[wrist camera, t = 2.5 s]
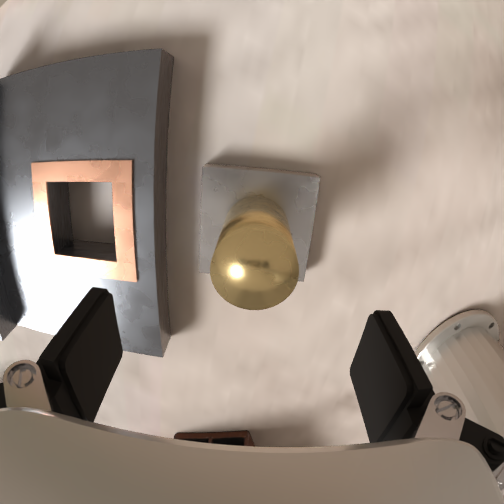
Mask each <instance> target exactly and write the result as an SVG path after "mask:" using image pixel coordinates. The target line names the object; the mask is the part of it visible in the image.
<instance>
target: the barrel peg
mask: <svg viewBox="0 0 504 504" xmlns="http://www.w3.org/2000/svg"><path fill="white" fill-rule="evenodd" d="M210 275H211V280H212V283H213V285H214V287H215V289H216V290H217V292H218V293H219V294H220V295H221V297H222V298H224V299H225V300H226V301H227V302H229V303H231V304H232V305H234V306H237V307H239V308H243V309H248V310H262V309H267V308H270V307H273V306H275V305H278V304H279V303H281V302H282V301H284V300H285V299H286V298H287V297H288V296H289V295H290V294H291V293H292V291H293V290H294V288H295V286H296V284H297V282H298V278H299V264H298V259H297V255H296V251H295V247H294V243H293V239H292V235H291V231H290V227H289V223H288V220H287V216H286V214H285V212H284V210H283V209H282V208H281V207H280V206H279V205H278V204H277V203H276V202H275V201H273V200H271V199H269V198H266V197H261V196H251V197H246V198H244V199H242V200H240V201H238V202H237V203H235V204H234V205H233V206H232V207H231V209H230V210H229V212H228V213H227V216H226V218H225V221H224V224H223V227H222V230H221V233H220V236H219V239H218V242H217V245H216V248H215V251H214V254H213V257H212V260H211V264H210Z"/></svg>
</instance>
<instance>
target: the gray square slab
mask: <svg viewBox="0 0 504 504" xmlns="http://www.w3.org/2000/svg"><path fill="white" fill-rule="evenodd" d="M319 184H320V177H319V176H318V175H317V174H312V173H304V172H296V171H287V170H278V169H268V168H257V167H246V166H234V165H220V164H205V165H204V166H203V170H202V190H201V214H200V248H199V272H202V273H210V264H211V260H212V257H213V254H214V251H215V248H216V245H217V242H218V239H219V236H220V233H221V230H222V227H223V224H224V221H225V218H226V216H227V213H228V212H229V210H230V209H231V207H232V206H233V205H234V204H235V203H237V202H238V201H240V200H242V199H244V198H246V197H251V196H261V197H266V198H269V199H271V200H273V201H275V202H276V203H277V204H278V205H279V206H280V207H281V208H282V209H283V210H284V212H285V214H286V216H287V220H288V223H289V227H290V231H291V235H292V239H293V243H294V247H295V251H296V255H297V259H298V264H299V278H298V281H303V282H304V277H305V271H306V266H307V260H308V254H309V248H310V243H311V236H312V230H313V224H314V218H315V211H316V205H317V198H318V191H319Z"/></svg>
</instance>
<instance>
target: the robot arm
mask: <svg viewBox="0 0 504 504" xmlns="http://www.w3.org/2000/svg"><path fill="white" fill-rule="evenodd" d="M499 334H500V331H499V325H498V323H497V321H496V320H495V318H494V317H493V316H492V315H491V314H490V313H488V312H487V311H483V310H470V311H466V312H463V313H460V314H458V315H455V316H454V317H452V318H450V319H448V320H447V321H445V322H444V323H442V324H441V325H440V326H438V327H437V328H436V329H435V330H434V331H433V332H431V333H430V334H429V335H428V336H427V338H426V339H425V340H424V341H423V342H422V343H421V345H420V346H419V347H418V349H417V350H416V352H414V351H413V349H412V347H411V345H410V343H409V342H408V340H407V338H406V336H405V335H404V333H403V331H402V329H401V328H400V326H399V324H398V323H397V321H396V319H395V317H394V316H393V314H392V313H391V311H381V310H376V311H375V312H374V313H373V314H370V315H369V317H368V320H367V323H366V326H365V329H364V332H363V335H362V337H361V340H360V343H359V346H358V348H357V351H356V354H355V357H354V359H353V362H352V364H351V367H350V376H351V379H352V383H353V386H354V389H355V393H356V396H357V399H358V403H359V406H360V409H361V413H362V416H363V420H364V423H365V427H366V430H367V434H368V437H369V441H370V443H364V444H352V445H340V446H322V447H253V446H235V445H222V444H211V443H202V442H194V441H186V440H179V439H172V438H165V437H159V436H153V435H148V434H143V433H138V432H133V431H128V430H123V429H119V428H115V427H110V426H106V425H102V424H98V423H94V419H95V417H96V415H97V412H98V410H99V407H100V405H101V403H102V400H103V398H104V396H105V393H106V391H107V389H108V387H109V384H110V382H111V380H112V378H113V375H114V373H115V371H116V369H117V367H118V364H119V362H120V360H121V358H122V353H123V349H122V344H121V339H120V334H119V329H118V323H117V318H116V312H115V306H114V300H113V295H112V294H111V293H109V291H108V289H105V288H98V287H92V288H91V289H90V290H89V291H88V293H87V294H86V295H85V296H84V298H83V299H82V300H81V301H80V303H79V304H78V305H77V307H76V308H75V309H74V310H73V312H72V313H71V314H70V316H69V317H68V318H67V320H66V321H65V322H64V324H63V325H62V326H61V328H60V329H59V330H58V332H57V333H56V334H55V336H54V337H53V339H52V340H51V341H50V343H49V344H48V346H47V347H46V348H45V350H44V351H43V353H42V354H41V356H40V357H39V360H38V361H37V362H36V363H35V362H32V361H30V360H21V361H17V362H15V363H13V364H11V365H10V366H9V367H8V368H7V369H6V370H5V373H4V375H3V383H0V504H504V349H503V348H502V346H501V345H500V344H499V342H498V341H499Z"/></svg>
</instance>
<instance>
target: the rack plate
mask: <svg viewBox="0 0 504 504" xmlns="http://www.w3.org/2000/svg"><path fill="white" fill-rule="evenodd" d="M173 60H174V57H173V56H172V55H170V54H169V53H167V52H166V51H164V50H163V49H149V50H138V51H128V52H119V53H111V54H104V55H97V56H91V57H85V58H80V59H74V60H69V61H64V62H60V63H55V64H51V65H47V66H43V67H39V68H35V69H31V70H27V71H24V72H20V73H17V74H14V75H10V76H7V77H4V78H1V79H0V340H2V341H3V340H4V339H5V338H6V337H7V335H8V334H9V333H10V332H11V331H12V330H13V329H14V328H15V327H16V325H21V326H24V327H27V328H31V329H34V330H38V331H41V332H45V333H49V334H52V335H55V334H56V333H57V332H58V330H59V329H60V328H61V326H62V325H63V324H64V322H65V321H66V320H67V318H68V317H69V316H70V314H71V313H72V312H73V310H74V309H75V308H76V307H77V305H78V304H79V303H80V301H81V300H82V299H83V298H84V296H85V295H86V294H87V293H88V291H89V290H90V289H91V288H92V287H98V288H105V289H108V291H109V293H111V294H112V295H113V300H114V306H115V312H116V318H117V323H118V329H119V334H120V339H121V344H122V349H123V351H128V352H134V353H139V354H145V355H151V356H157V357H163V356H164V353H165V350H166V348H167V345H168V342H169V339H170V337H171V335H170V322H169V306H168V287H167V261H166V165H167V139H168V121H169V106H170V93H171V81H172V70H173ZM68 182H112V196H113V217H114V233H115V244H109V243H99V242H88V241H78V240H73V235H72V226H71V217H70V206H69V192H68Z"/></svg>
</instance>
